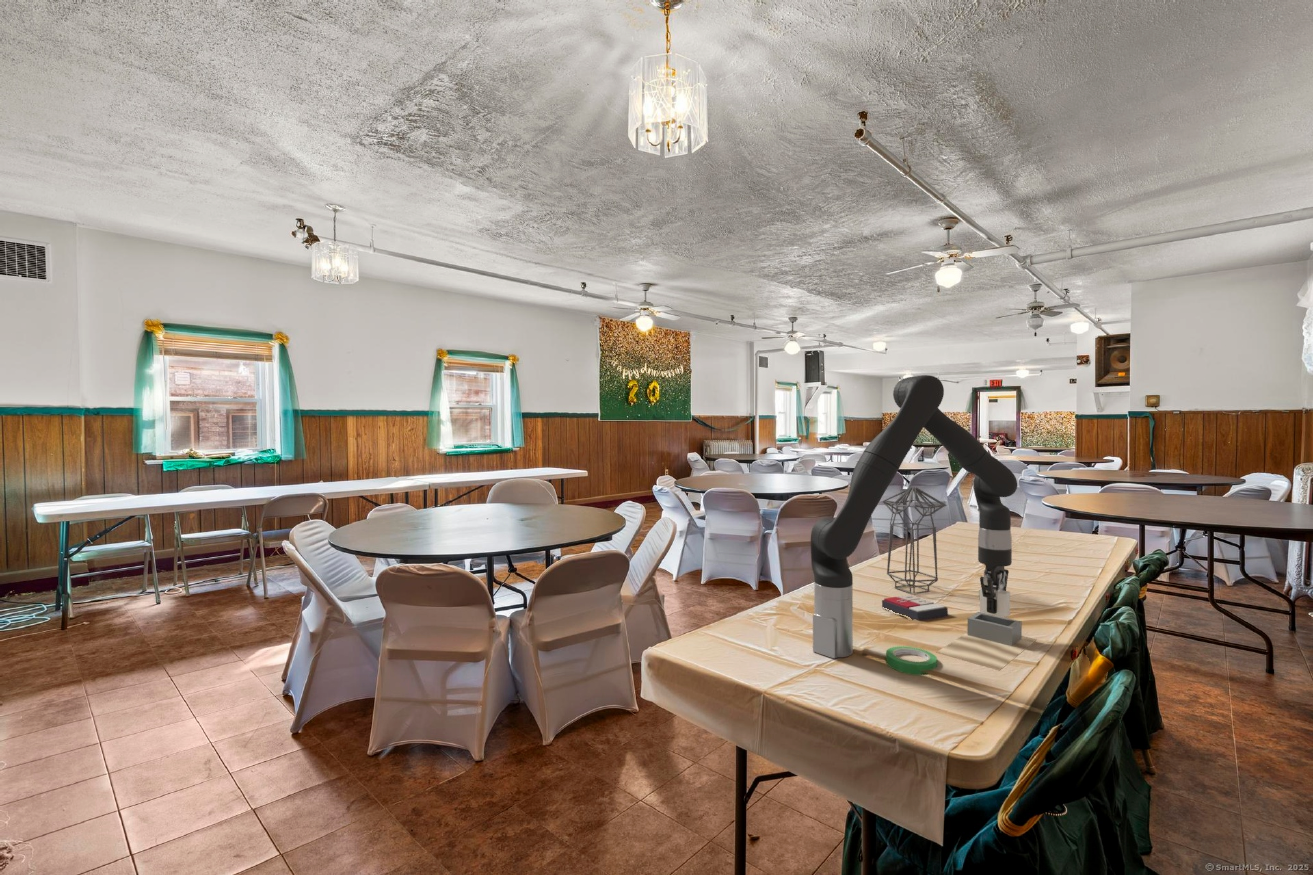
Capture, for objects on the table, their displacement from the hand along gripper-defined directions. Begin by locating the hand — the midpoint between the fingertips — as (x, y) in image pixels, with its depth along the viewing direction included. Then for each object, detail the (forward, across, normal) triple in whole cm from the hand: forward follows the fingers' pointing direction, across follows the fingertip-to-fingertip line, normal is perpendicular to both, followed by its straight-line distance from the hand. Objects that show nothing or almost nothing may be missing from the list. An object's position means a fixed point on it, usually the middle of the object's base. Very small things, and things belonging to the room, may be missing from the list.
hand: (994, 610), depth 151 cm
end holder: (+7, 0, 0) cm, 7 cm away
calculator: (+9, +6, +24) cm, 26 cm away
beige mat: (+8, -8, -1) cm, 11 cm away
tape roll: (+8, -30, +8) cm, 32 cm away
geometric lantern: (+8, +30, +35) cm, 47 cm away
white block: (+1, 0, 0) cm, 1 cm away
